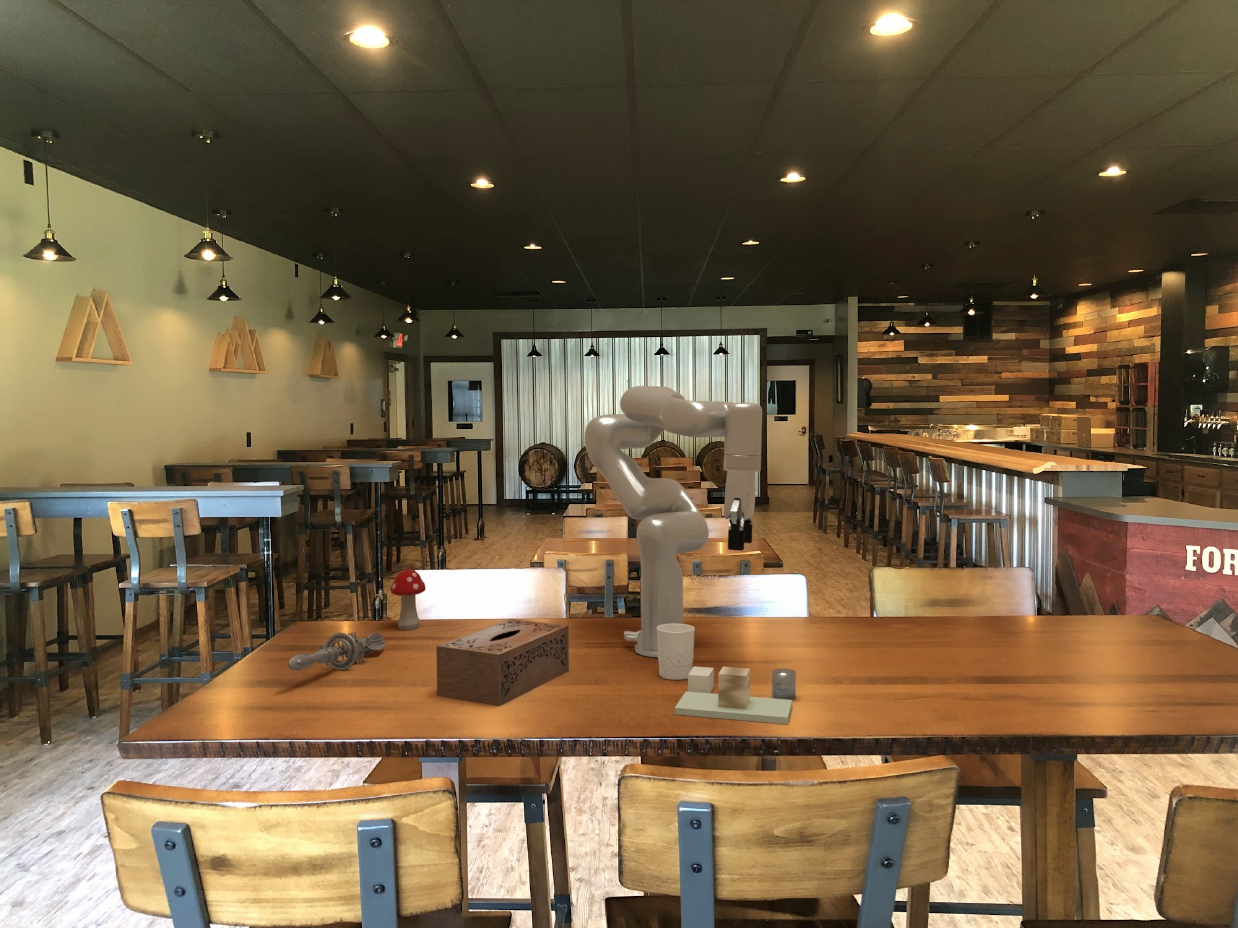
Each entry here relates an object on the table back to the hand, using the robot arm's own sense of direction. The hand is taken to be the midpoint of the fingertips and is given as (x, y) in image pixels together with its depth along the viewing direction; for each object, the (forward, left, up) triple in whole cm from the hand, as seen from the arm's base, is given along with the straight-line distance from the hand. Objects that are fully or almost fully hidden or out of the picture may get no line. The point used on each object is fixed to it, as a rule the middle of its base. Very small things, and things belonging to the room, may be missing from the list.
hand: (740, 546), depth 183 cm
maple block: (+2, -23, -26) cm, 34 cm away
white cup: (-13, -4, -27) cm, 30 cm away
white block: (-6, -13, -27) cm, 30 cm away
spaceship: (-83, -18, -27) cm, 89 cm away
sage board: (+2, -23, -27) cm, 35 cm away
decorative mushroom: (-88, +20, -27) cm, 94 cm away
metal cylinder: (+10, -13, -27) cm, 31 cm away
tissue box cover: (-45, -18, -27) cm, 55 cm away
